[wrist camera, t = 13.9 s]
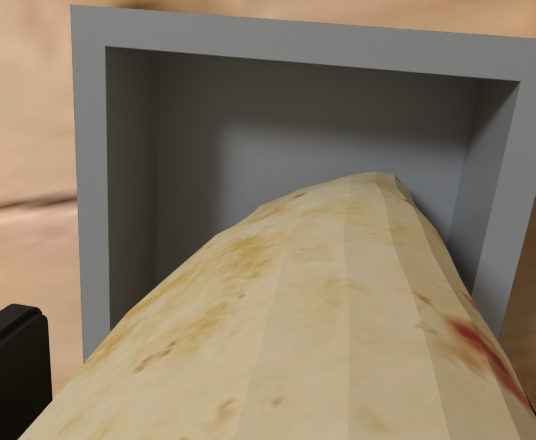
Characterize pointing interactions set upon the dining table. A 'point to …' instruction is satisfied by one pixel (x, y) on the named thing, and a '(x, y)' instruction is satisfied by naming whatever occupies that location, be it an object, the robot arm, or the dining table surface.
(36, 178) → the dining table surface
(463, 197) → the bin
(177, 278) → the food model
